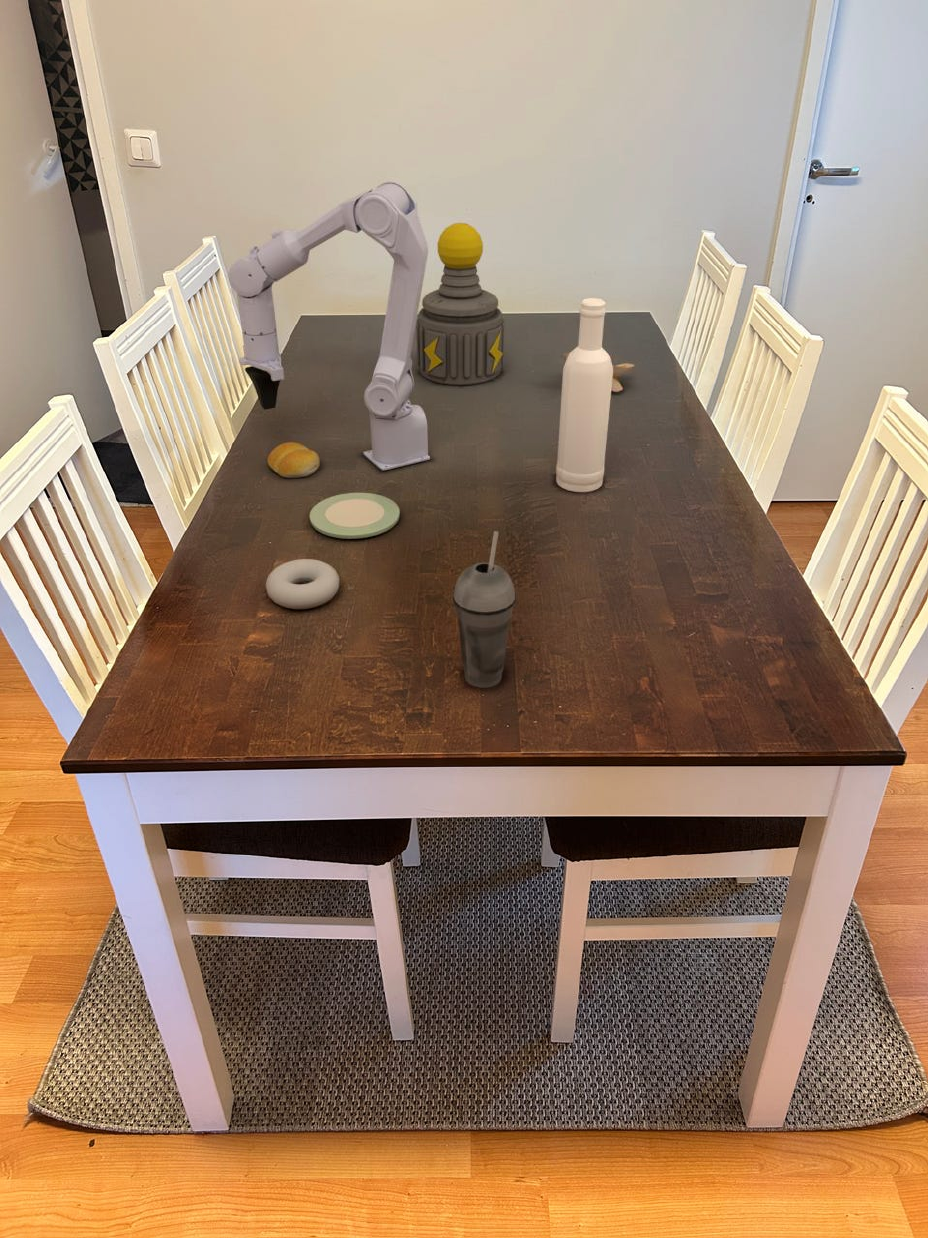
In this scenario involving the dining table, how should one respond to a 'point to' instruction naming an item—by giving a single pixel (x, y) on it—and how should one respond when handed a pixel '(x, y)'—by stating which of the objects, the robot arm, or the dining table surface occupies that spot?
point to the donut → (302, 596)
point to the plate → (354, 515)
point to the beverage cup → (484, 619)
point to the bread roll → (293, 460)
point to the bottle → (585, 405)
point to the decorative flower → (614, 373)
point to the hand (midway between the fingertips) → (268, 407)
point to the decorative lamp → (460, 317)
